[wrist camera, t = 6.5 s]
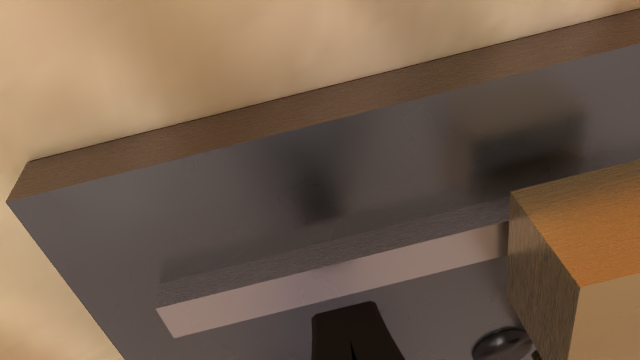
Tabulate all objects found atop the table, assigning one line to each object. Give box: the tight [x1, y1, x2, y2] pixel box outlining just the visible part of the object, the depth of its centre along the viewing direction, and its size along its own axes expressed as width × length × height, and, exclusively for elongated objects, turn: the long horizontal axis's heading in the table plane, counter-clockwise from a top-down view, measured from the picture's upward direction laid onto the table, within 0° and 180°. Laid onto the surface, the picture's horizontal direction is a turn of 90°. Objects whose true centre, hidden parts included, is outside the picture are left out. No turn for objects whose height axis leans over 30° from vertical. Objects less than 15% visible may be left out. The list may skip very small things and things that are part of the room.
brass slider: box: [506, 159, 640, 360], centre depth 13 cm, size 8×3×3 cm, turn 11°
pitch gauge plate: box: [6, 9, 640, 360], centre depth 14 cm, size 14×26×4 cm, turn 101°
